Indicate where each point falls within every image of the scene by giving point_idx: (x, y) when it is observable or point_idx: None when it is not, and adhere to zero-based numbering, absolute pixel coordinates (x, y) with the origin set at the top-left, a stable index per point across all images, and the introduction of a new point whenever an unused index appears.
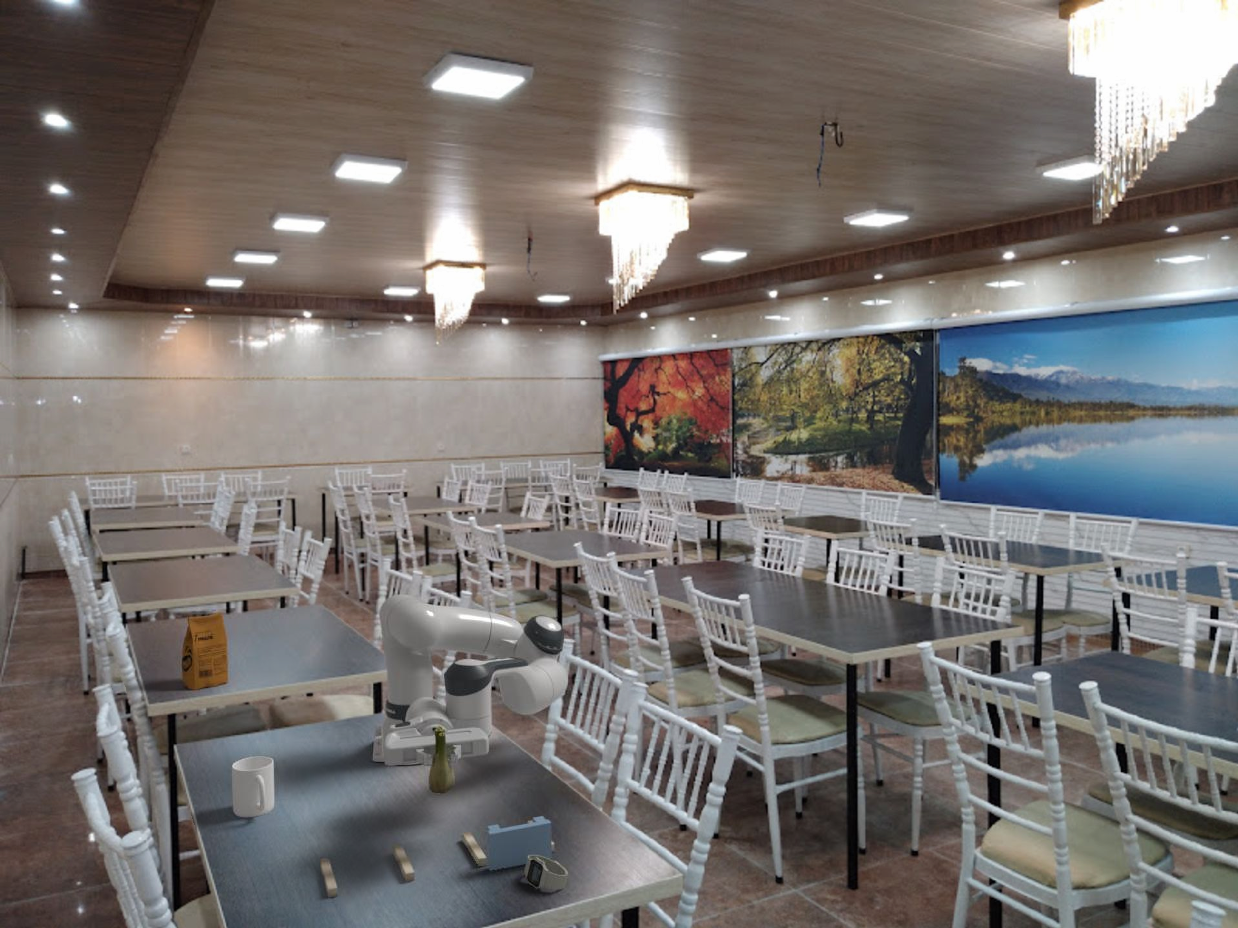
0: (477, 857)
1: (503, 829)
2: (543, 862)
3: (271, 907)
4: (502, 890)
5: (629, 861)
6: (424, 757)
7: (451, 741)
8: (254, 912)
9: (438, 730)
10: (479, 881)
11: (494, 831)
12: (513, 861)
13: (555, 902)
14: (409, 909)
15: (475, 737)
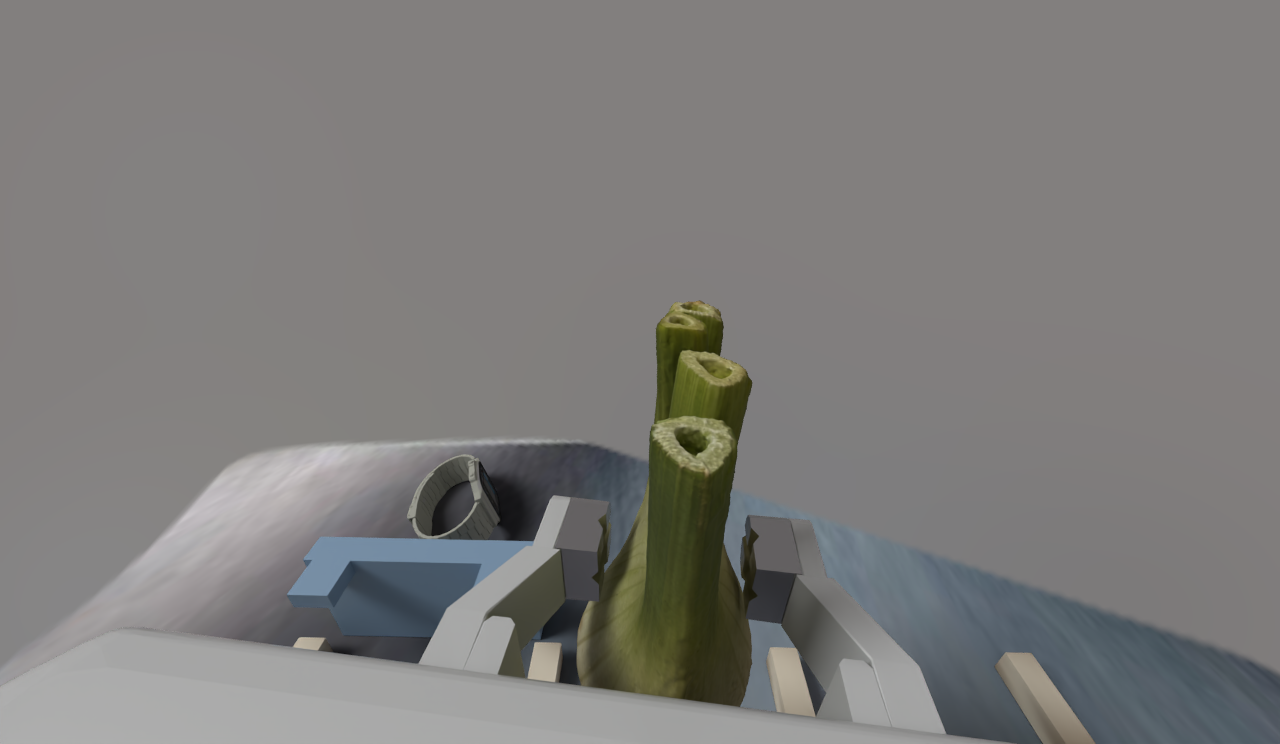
0: (558, 659)
1: (478, 555)
2: (472, 460)
3: (1188, 682)
4: None
5: (239, 520)
6: (811, 525)
7: (496, 687)
8: (1225, 673)
9: (714, 354)
10: None
11: (512, 553)
12: None
13: (500, 454)
14: None
15: (175, 673)
